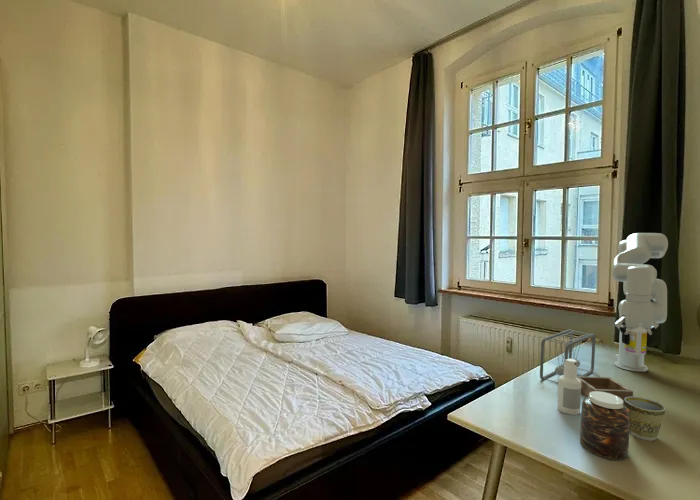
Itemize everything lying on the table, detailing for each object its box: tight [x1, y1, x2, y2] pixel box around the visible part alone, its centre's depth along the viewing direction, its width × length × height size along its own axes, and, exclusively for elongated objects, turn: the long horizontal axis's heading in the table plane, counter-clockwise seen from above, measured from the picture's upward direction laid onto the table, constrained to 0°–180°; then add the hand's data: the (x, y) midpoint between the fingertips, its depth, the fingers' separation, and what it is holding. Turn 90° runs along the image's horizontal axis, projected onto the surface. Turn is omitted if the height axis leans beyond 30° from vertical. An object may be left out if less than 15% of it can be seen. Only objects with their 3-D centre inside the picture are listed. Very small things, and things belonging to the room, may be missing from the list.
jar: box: [579, 391, 630, 461], centre depth 109 cm, size 12×12×15 cm
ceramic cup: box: [624, 395, 666, 442], centre depth 117 cm, size 13×10×10 cm
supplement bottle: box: [625, 323, 647, 356], centre depth 147 cm, size 7×7×13 cm
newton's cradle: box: [539, 328, 596, 385], centre depth 164 cm, size 30×10×18 cm, turn 129°
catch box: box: [577, 375, 634, 406], centre depth 144 cm, size 13×13×5 cm
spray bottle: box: [557, 357, 582, 416], centre depth 132 cm, size 7×7×18 cm
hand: (635, 343), depth 147 cm, fingers closed on supplement bottle, 6 cm apart
